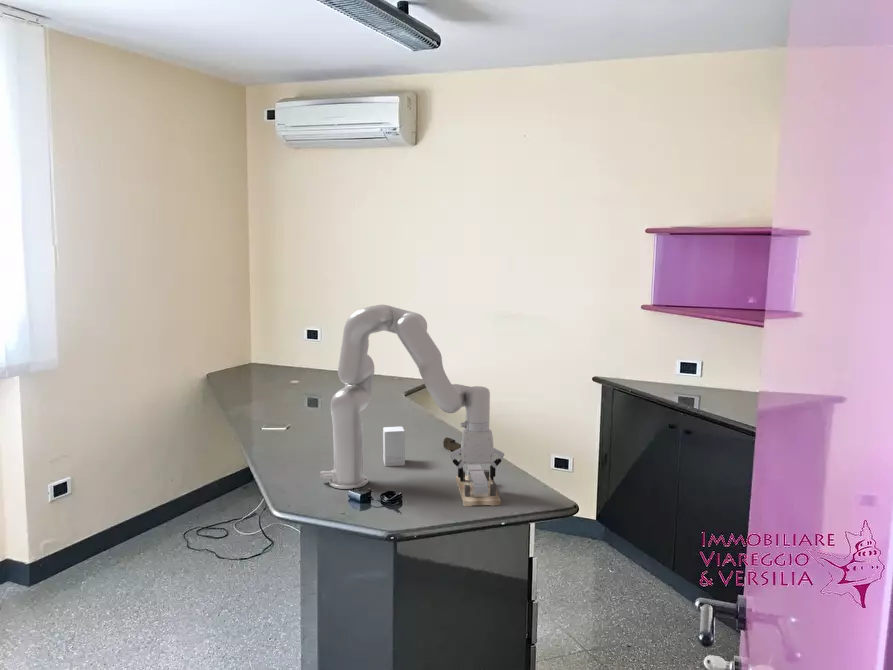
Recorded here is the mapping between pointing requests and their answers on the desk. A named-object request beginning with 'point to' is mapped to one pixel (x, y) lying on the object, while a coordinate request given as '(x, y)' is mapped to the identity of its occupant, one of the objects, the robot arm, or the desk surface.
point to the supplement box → (393, 446)
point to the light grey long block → (477, 481)
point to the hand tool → (451, 444)
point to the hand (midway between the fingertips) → (476, 479)
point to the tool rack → (471, 500)
